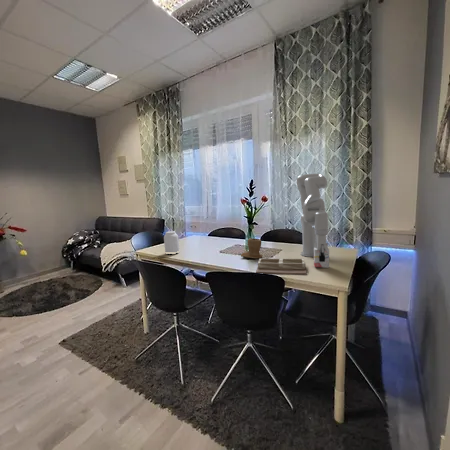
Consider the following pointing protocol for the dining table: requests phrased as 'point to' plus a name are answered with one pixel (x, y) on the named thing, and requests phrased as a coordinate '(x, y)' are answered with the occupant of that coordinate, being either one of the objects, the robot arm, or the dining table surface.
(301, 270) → the wooden frame
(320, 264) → the ink cartridge box
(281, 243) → the dining table surface
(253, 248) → the brown boots
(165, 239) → the white jar
